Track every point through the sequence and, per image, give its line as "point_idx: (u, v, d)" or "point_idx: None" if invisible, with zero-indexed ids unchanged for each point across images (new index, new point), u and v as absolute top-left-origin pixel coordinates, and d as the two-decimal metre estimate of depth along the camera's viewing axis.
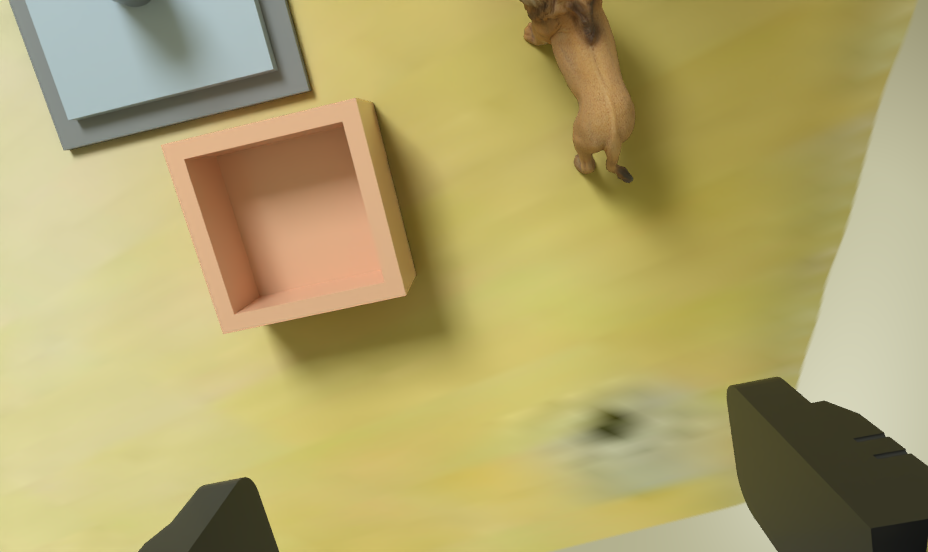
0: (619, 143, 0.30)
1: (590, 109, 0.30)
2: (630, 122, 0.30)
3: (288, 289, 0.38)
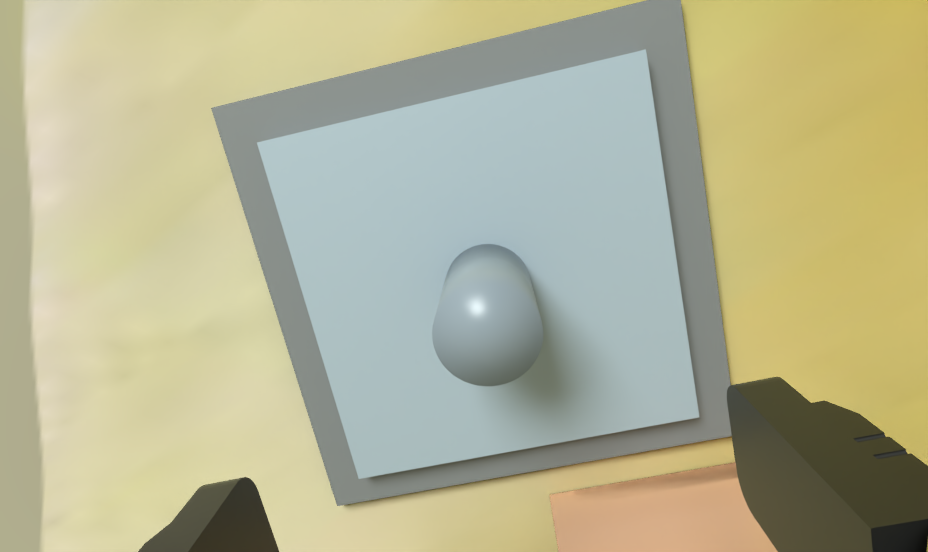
0: None
1: None
2: None
3: None
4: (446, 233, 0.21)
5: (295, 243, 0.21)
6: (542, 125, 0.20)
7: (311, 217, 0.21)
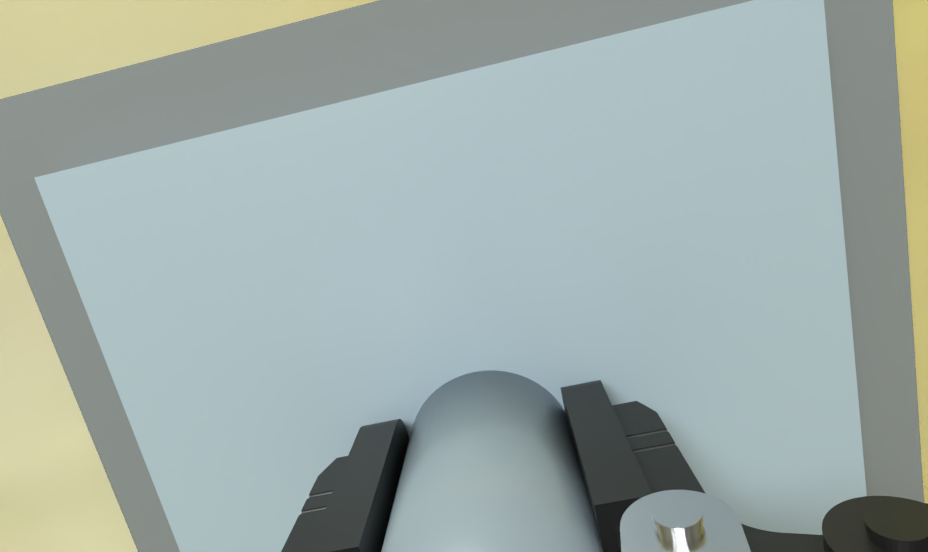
0: None
1: None
2: None
3: None
4: (412, 350, 0.11)
5: (122, 367, 0.11)
6: (600, 142, 0.10)
7: (150, 320, 0.11)
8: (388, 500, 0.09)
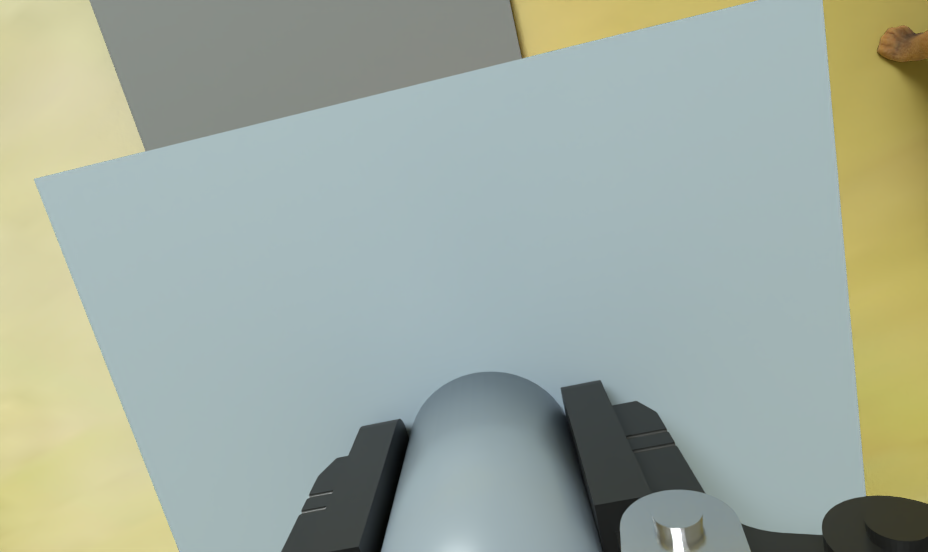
0: None
1: None
2: None
3: None
4: (411, 352, 0.11)
5: (122, 368, 0.11)
6: (600, 144, 0.10)
7: (150, 321, 0.11)
8: (388, 500, 0.09)
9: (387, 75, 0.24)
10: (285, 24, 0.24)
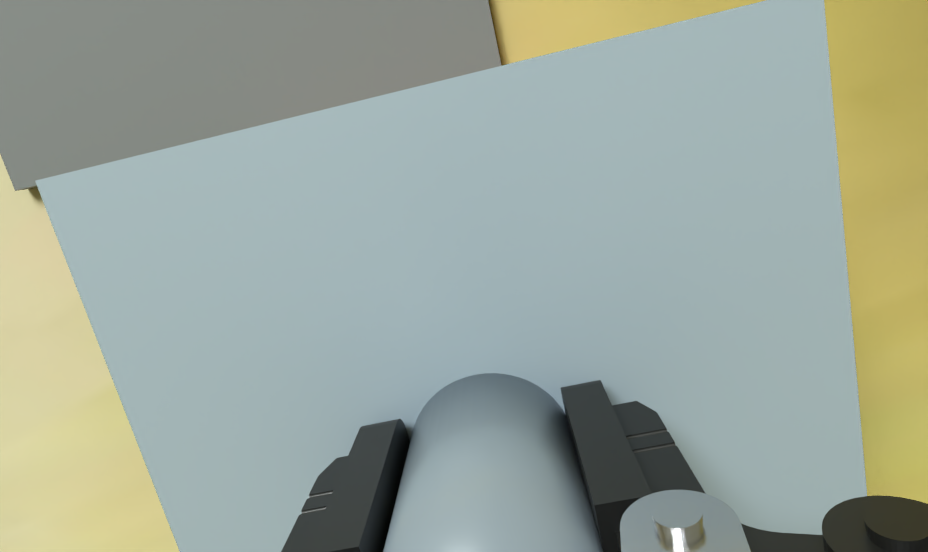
0: None
1: None
2: None
3: None
4: (412, 353, 0.11)
5: (122, 369, 0.11)
6: (601, 145, 0.10)
7: (151, 323, 0.11)
8: (388, 500, 0.09)
9: (310, 34, 0.18)
10: None
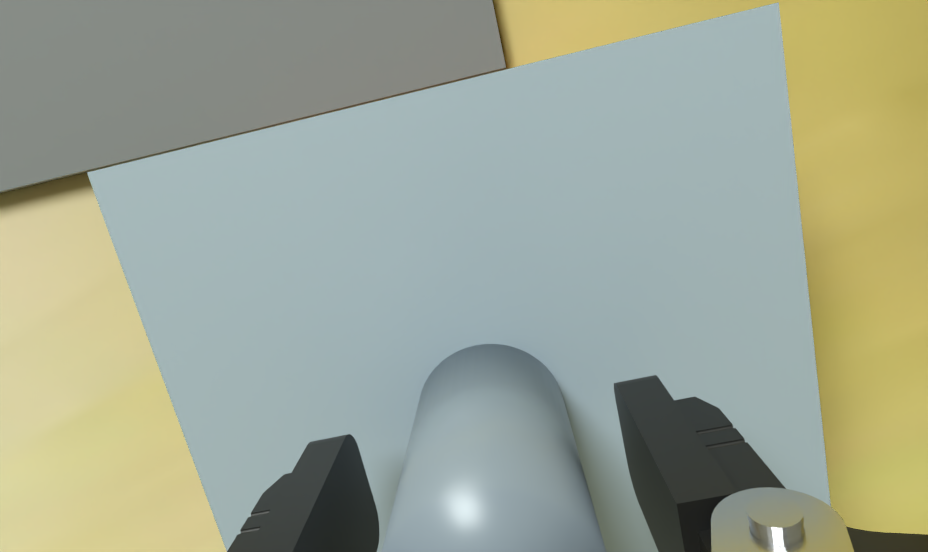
0: None
1: None
2: None
3: None
4: (420, 326, 0.12)
5: (161, 341, 0.12)
6: (587, 141, 0.11)
7: (188, 299, 0.12)
8: (328, 519, 0.09)
9: (288, 25, 0.16)
10: None
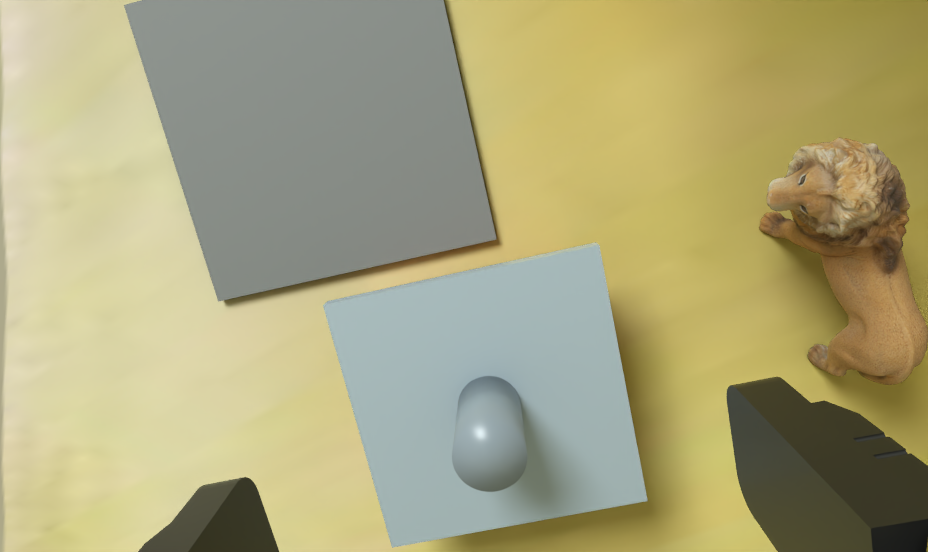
0: (910, 373, 0.27)
1: (883, 340, 0.27)
2: (924, 351, 0.27)
3: None
4: (459, 368, 0.28)
5: (348, 374, 0.29)
6: (527, 294, 0.28)
7: (361, 357, 0.29)
8: None
9: (391, 219, 0.32)
10: (317, 182, 0.32)
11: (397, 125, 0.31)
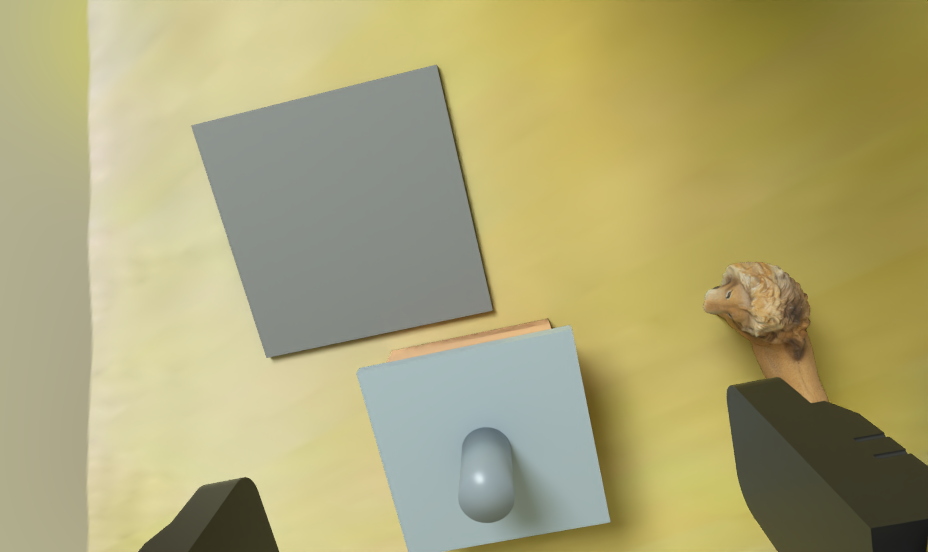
0: None
1: None
2: None
3: None
4: (463, 421, 0.36)
5: (376, 425, 0.37)
6: (516, 366, 0.35)
7: (386, 412, 0.36)
8: None
9: (407, 294, 0.40)
10: (347, 264, 0.40)
11: (412, 221, 0.39)
